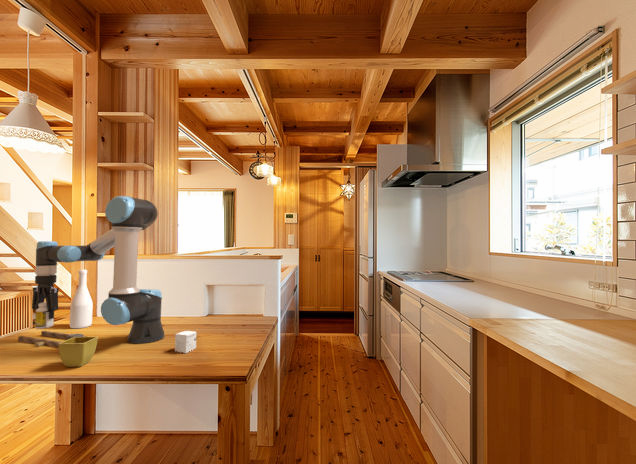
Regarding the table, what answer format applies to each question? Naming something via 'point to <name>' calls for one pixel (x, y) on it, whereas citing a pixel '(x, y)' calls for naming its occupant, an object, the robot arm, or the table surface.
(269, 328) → the table surface
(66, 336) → the forked driftwood branch
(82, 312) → the wine bottle
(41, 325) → the pill bottle
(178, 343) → the skincare box
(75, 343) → the flower pot
